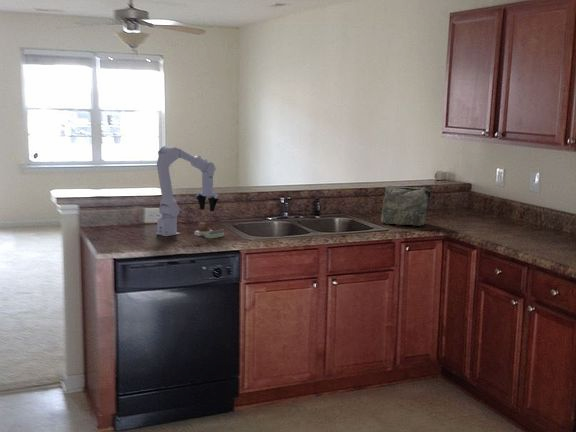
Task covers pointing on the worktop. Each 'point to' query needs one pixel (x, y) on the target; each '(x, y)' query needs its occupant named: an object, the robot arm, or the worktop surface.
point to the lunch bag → (405, 205)
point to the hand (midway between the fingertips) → (207, 210)
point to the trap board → (210, 233)
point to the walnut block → (204, 226)
